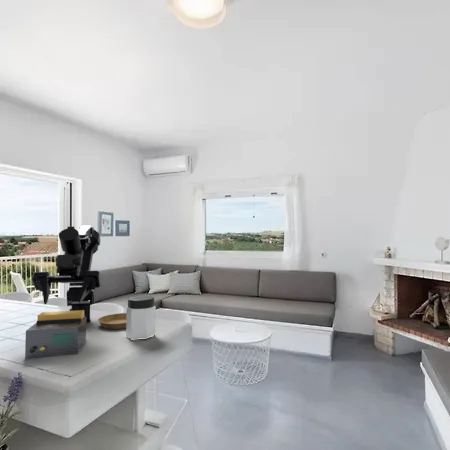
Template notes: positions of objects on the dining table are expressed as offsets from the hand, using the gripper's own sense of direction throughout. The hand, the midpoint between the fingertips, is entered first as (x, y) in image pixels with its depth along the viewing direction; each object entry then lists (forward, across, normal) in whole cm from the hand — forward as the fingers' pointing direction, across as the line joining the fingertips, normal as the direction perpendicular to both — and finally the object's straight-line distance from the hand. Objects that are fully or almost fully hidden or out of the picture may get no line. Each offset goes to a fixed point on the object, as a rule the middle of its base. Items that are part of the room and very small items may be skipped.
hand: (62, 302), depth 92 cm
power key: (+4, 0, +3) cm, 5 cm away
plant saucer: (-4, +15, +22) cm, 27 cm away
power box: (+11, 0, +6) cm, 12 cm away
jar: (+7, +22, +10) cm, 25 cm away
